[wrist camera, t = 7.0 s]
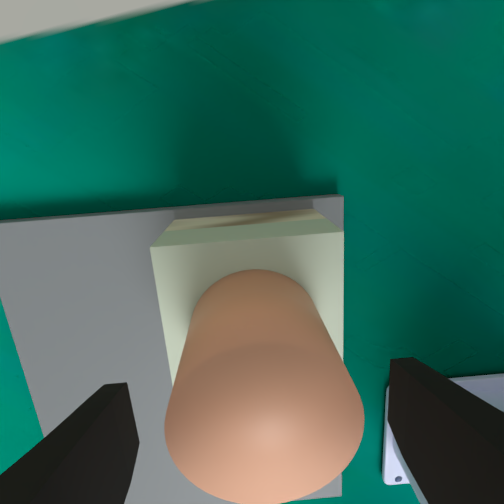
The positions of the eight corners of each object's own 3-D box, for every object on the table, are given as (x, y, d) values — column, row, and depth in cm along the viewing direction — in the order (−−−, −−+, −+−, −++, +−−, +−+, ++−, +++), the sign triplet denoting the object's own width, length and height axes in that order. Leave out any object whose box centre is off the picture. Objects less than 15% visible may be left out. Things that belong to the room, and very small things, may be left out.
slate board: (337, 194, 18) (343, 196, 17) (337, 482, 24) (341, 495, 23) (-8, 220, 18) (-23, 225, 17) (77, 506, 23) (70, 521, 22)
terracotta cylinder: (322, 268, 13) (374, 340, 8) (314, 382, 14) (354, 501, 9) (187, 269, 12) (157, 344, 8) (193, 385, 14) (170, 508, 9)
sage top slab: (326, 218, 15) (343, 231, 12) (327, 358, 17) (343, 393, 14) (164, 231, 15) (149, 247, 12) (185, 370, 17) (176, 408, 14)
